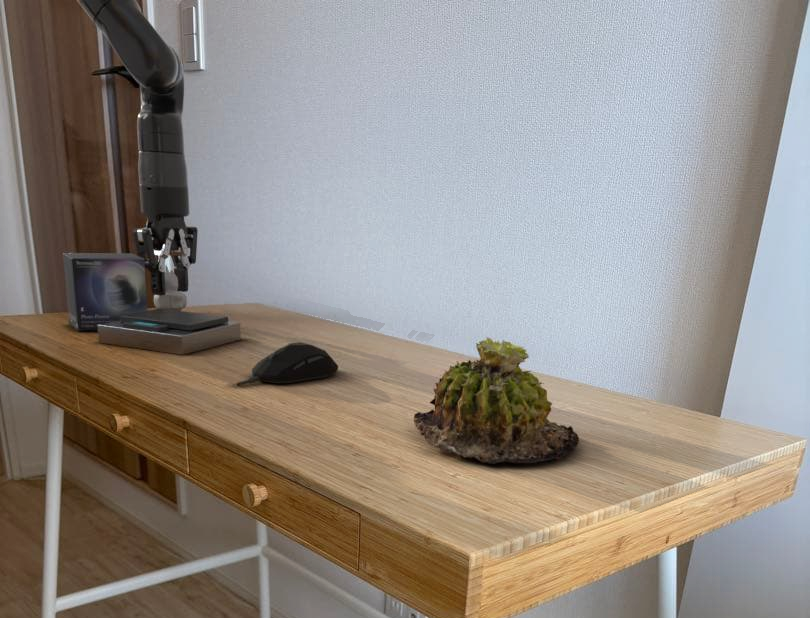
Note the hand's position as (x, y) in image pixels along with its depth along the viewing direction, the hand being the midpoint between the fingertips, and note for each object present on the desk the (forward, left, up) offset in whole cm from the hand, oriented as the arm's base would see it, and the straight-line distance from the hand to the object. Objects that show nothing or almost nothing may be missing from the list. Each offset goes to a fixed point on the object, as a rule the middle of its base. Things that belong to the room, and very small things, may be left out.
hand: (170, 292), depth 139 cm
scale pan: (+15, -19, -1) cm, 24 cm away
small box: (+1, -16, -4) cm, 17 cm away
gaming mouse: (+40, -31, -4) cm, 51 cm away
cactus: (+70, -43, -4) cm, 82 cm away
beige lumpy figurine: (0, 0, -4) cm, 4 cm away
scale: (+15, -20, -3) cm, 25 cm away
